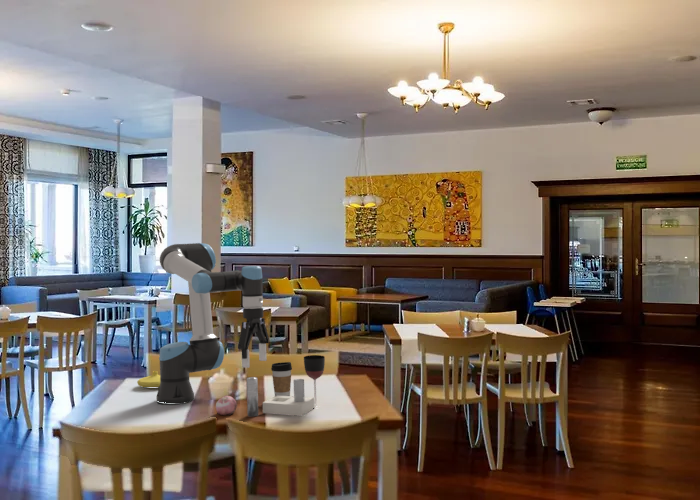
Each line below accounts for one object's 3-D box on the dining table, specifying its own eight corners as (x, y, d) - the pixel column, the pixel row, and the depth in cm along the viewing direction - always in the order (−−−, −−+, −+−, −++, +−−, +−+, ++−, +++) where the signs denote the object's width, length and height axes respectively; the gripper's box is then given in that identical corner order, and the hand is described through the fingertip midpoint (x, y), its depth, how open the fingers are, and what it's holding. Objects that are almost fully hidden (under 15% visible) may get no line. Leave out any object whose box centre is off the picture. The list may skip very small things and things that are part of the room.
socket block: (262, 413, 266) (262, 381, 266) (277, 405, 277) (276, 375, 277) (301, 416, 260) (300, 383, 260) (314, 408, 271) (313, 377, 271)
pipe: (245, 416, 262) (244, 378, 261) (251, 413, 265) (249, 376, 265) (255, 417, 260) (254, 379, 260) (260, 414, 264) (259, 377, 264)
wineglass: (310, 412, 267) (309, 359, 266) (301, 407, 275) (300, 356, 274) (329, 409, 271) (328, 357, 270) (320, 404, 278) (318, 354, 278)
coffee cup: (289, 402, 282) (288, 365, 281) (269, 401, 283) (268, 364, 283) (295, 397, 290) (294, 361, 289) (275, 397, 291) (274, 361, 291)
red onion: (221, 419, 261) (214, 402, 261) (217, 417, 268) (210, 399, 268) (241, 410, 264) (234, 392, 264) (236, 407, 271) (229, 390, 271)
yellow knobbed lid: (158, 382, 328) (157, 366, 328) (180, 385, 319) (180, 370, 319) (129, 388, 315) (129, 372, 315) (152, 392, 306) (152, 376, 306)
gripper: (245, 311, 250) (247, 370, 251) (276, 304, 273) (278, 358, 274) (227, 310, 253) (229, 369, 253) (259, 303, 276) (261, 357, 277)
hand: (254, 363), depth 264 cm, fingers open, 13 cm apart
